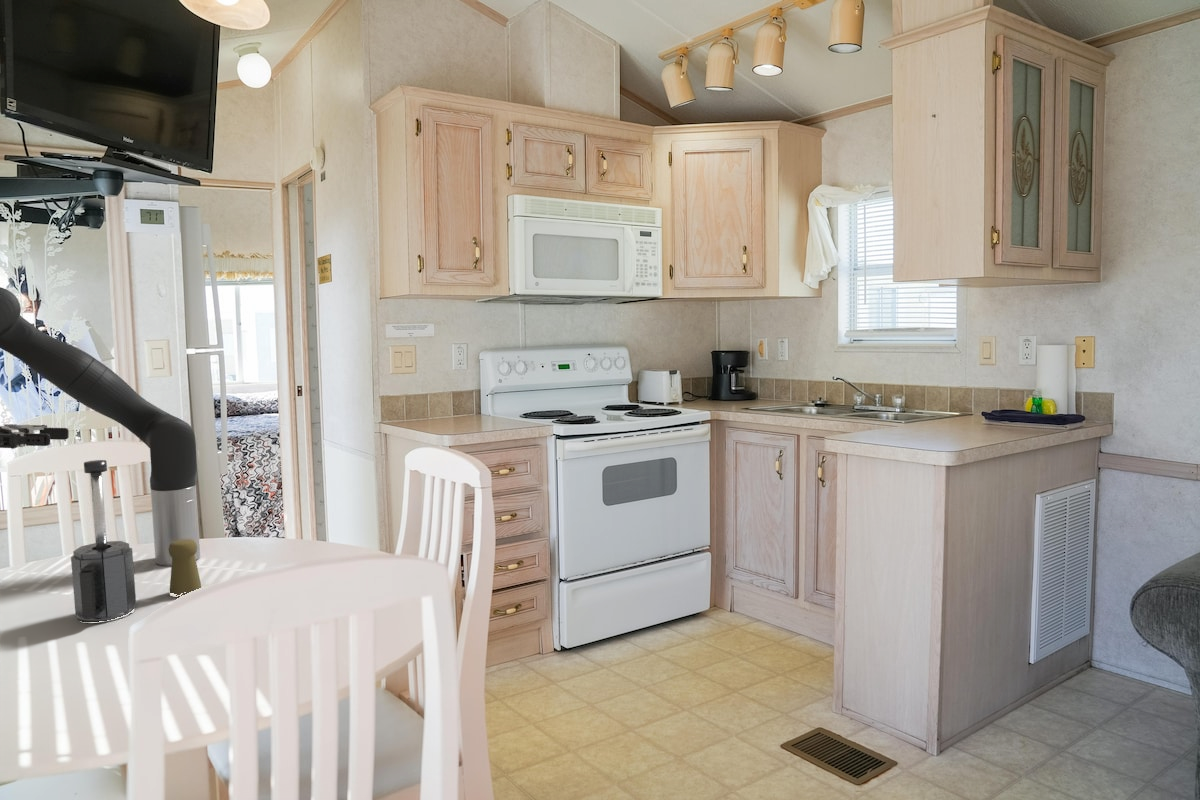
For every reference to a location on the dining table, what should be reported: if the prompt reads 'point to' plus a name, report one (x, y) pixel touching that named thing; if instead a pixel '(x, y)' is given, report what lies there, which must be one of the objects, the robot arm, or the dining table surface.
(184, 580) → the cork
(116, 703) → the dining table surface
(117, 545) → the coffee press
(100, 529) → the plunger
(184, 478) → the robot arm
